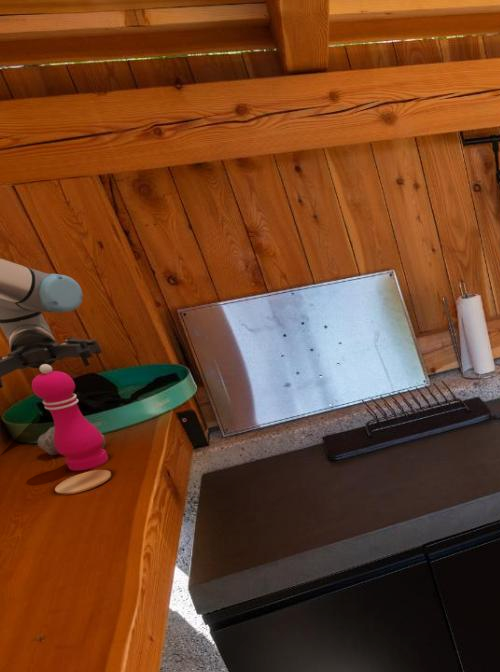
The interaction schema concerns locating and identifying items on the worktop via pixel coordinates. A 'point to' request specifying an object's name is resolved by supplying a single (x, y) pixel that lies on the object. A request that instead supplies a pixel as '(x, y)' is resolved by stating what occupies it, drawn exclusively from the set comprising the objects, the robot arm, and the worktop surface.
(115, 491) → the worktop surface
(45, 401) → the pepper mill
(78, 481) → the cork mat
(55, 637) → the worktop surface
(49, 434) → the stone
